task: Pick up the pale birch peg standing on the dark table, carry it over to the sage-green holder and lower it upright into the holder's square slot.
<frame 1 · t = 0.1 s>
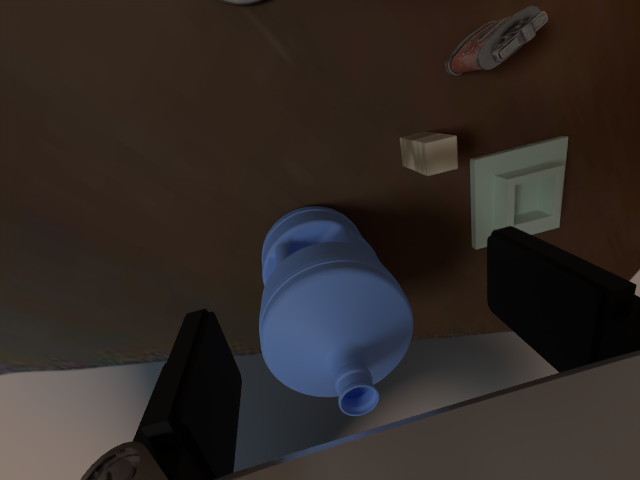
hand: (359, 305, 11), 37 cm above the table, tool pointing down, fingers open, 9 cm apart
birch peg: (414, 148, 46), on the table
water jug: (312, 251, 50), on the table
lighter: (470, 50, 43), on the table
slot holder: (514, 194, 52), on the table
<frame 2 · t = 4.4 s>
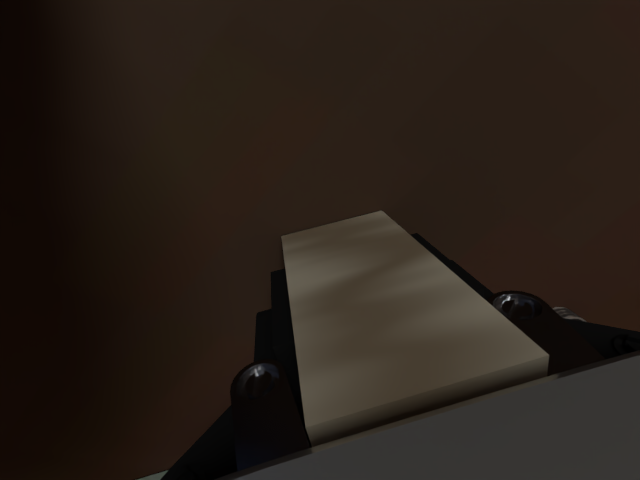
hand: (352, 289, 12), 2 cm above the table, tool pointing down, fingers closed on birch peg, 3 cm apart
birch peg: (341, 267, 13), on the table, touching gripper
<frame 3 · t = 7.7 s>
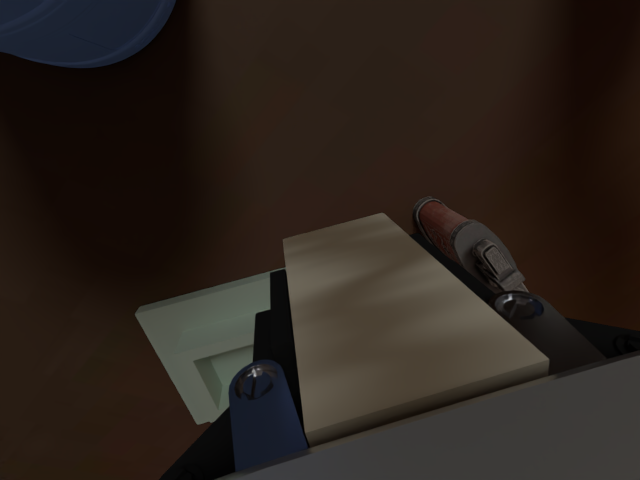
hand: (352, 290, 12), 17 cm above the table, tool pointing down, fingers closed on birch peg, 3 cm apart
birch peg: (343, 270, 13), point 16 cm above the table, touching gripper
lighter: (440, 229, 31), on the table
slot holder: (243, 345, 33), on the table
when the fingers open (5 cm above the table, at t = 11.2 s): birch peg drops 2 cm, resting on slot holder.
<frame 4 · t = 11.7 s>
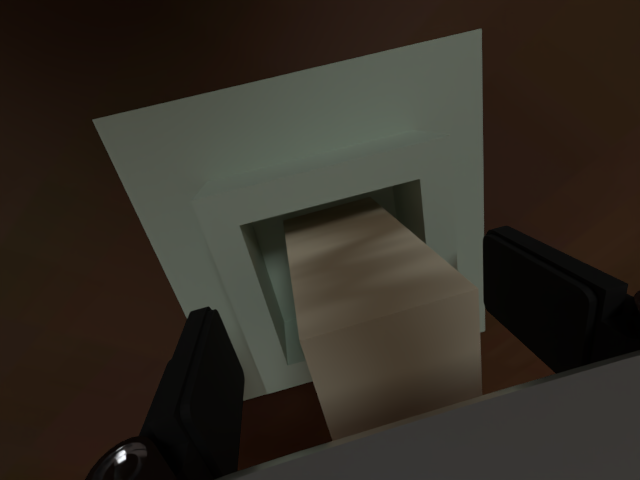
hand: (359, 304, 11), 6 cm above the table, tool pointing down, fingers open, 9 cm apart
birch peg: (336, 248, 15), point 1 cm above the table, touching slot holder
slot holder: (328, 239, 16), on the table
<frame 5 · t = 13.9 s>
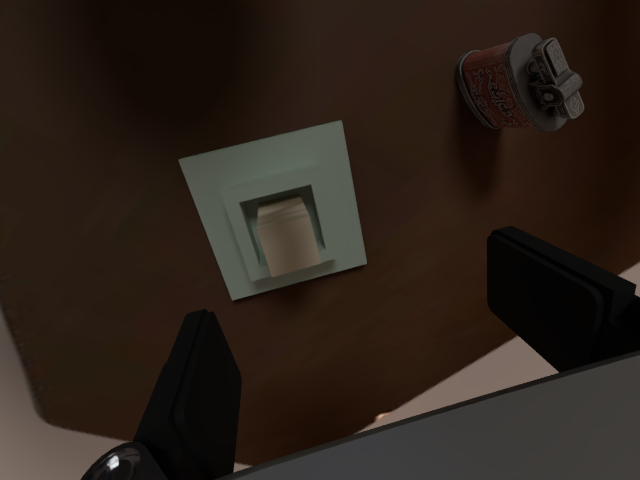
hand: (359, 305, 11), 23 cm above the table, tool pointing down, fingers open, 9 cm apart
birch peg: (284, 216, 32), point 1 cm above the table, touching slot holder
lighter: (479, 92, 32), on the table
slot holder: (282, 213, 33), on the table
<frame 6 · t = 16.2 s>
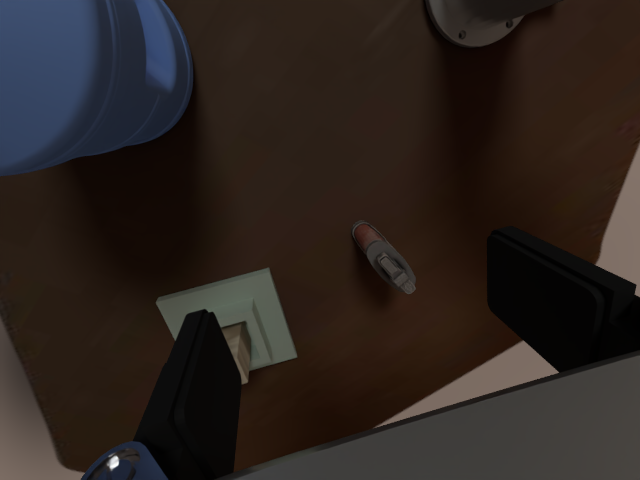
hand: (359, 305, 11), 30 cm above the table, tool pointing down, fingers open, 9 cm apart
birch peg: (232, 331, 44), point 1 cm above the table, touching slot holder
water jug: (114, 63, 32), on the table
lighter: (372, 242, 44), on the table
slot holder: (232, 326, 46), on the table
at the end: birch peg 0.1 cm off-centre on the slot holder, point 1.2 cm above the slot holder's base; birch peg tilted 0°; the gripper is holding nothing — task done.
